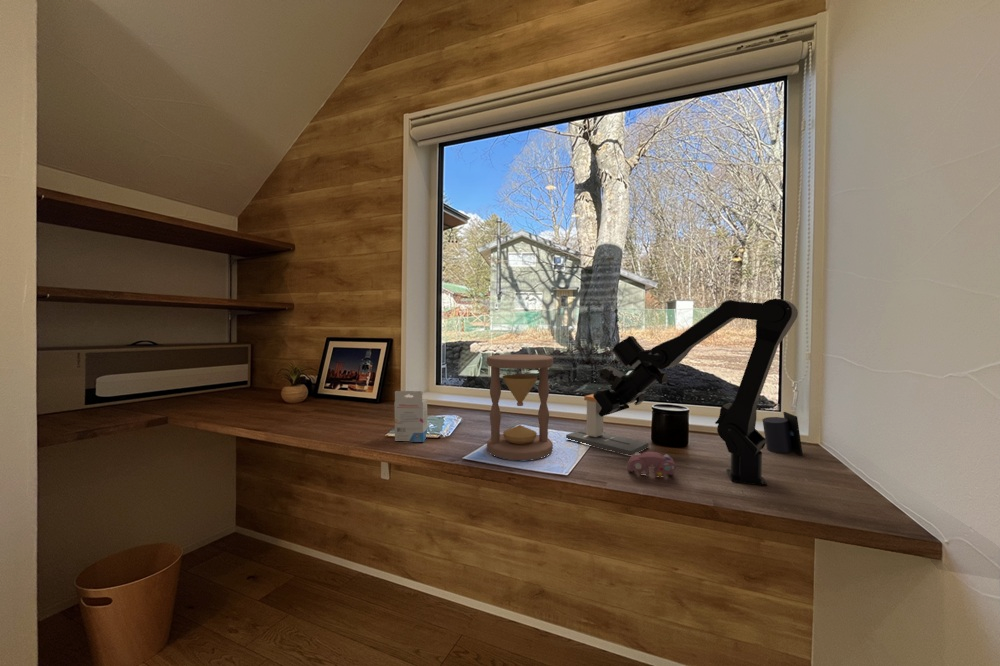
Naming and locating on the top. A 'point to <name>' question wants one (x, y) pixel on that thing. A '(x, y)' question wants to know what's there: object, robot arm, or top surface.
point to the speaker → (782, 434)
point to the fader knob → (593, 417)
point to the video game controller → (651, 463)
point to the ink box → (410, 416)
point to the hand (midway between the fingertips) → (600, 415)
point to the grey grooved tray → (609, 442)
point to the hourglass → (519, 439)
